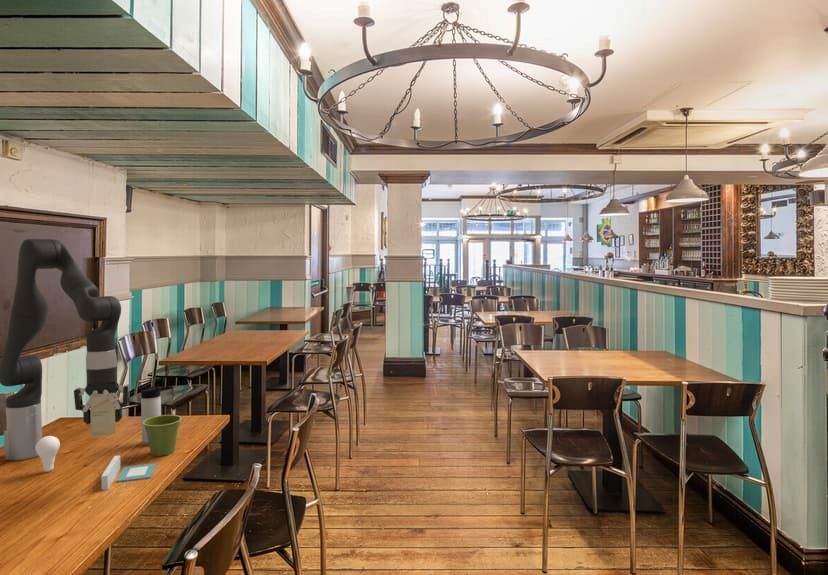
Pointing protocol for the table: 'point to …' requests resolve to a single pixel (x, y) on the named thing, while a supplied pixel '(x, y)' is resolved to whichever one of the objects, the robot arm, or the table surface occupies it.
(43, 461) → the lightbulb
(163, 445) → the plant pot
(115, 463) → the divider wall
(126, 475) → the resting pad
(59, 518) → the table surface
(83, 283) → the robot arm
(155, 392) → the travel mug
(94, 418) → the skincare box
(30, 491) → the table surface
